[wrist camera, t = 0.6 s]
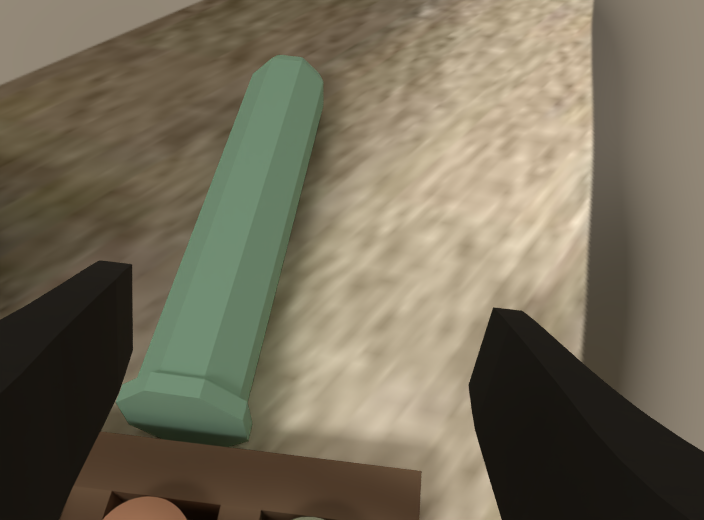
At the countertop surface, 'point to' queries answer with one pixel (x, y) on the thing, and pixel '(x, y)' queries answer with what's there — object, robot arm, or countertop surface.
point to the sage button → (308, 518)
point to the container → (230, 268)
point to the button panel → (237, 483)
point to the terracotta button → (146, 510)
